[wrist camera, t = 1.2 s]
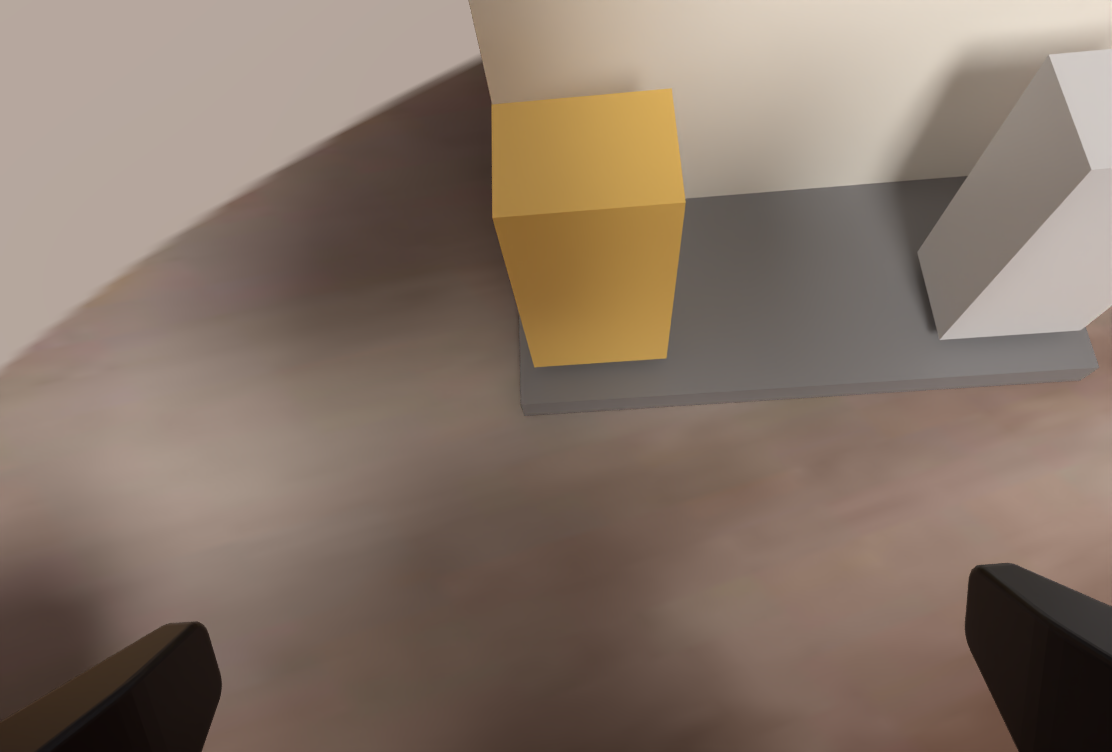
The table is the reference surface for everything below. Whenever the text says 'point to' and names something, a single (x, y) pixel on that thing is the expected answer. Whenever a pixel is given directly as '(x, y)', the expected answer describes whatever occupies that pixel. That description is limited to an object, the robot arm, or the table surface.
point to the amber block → (590, 222)
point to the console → (799, 181)
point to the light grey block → (1032, 213)
